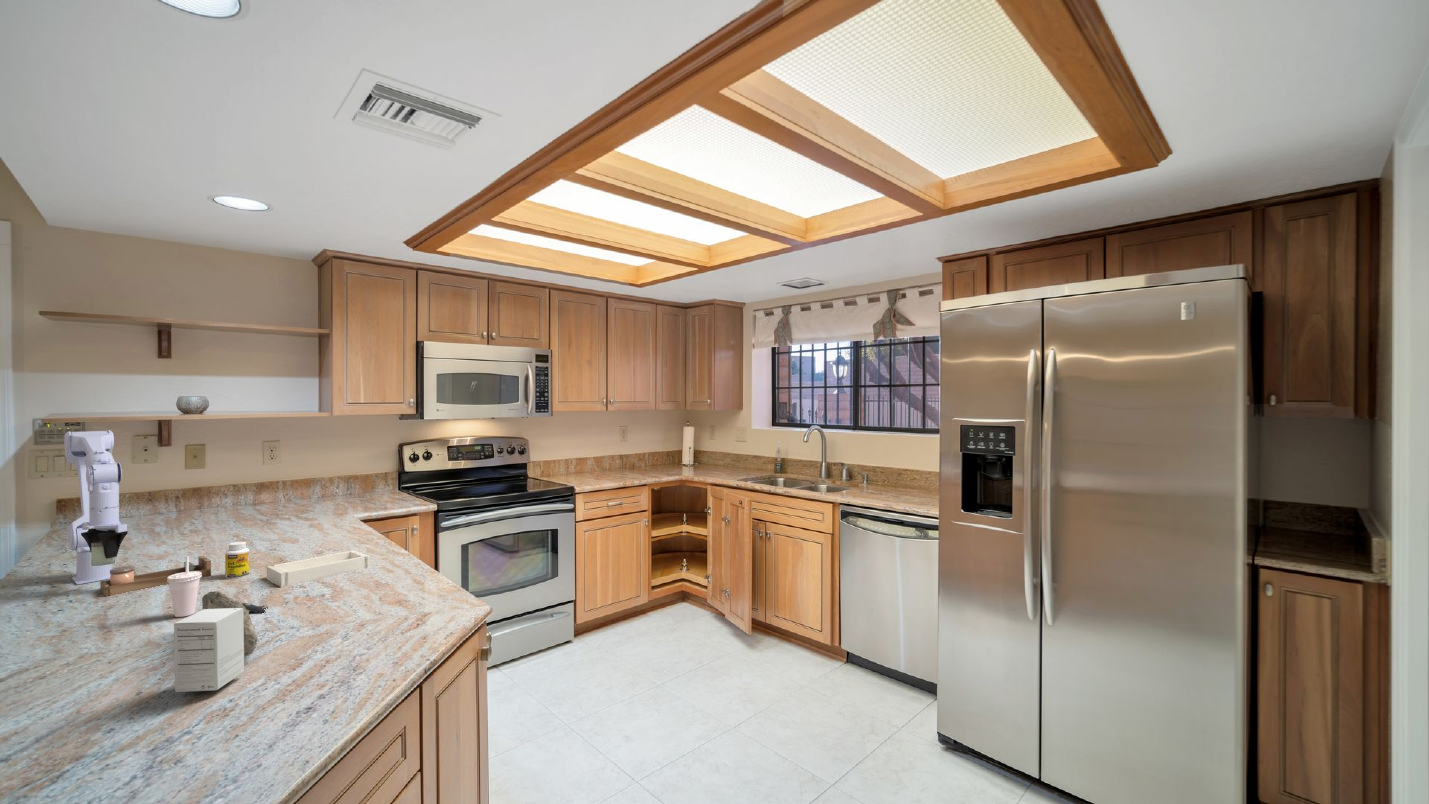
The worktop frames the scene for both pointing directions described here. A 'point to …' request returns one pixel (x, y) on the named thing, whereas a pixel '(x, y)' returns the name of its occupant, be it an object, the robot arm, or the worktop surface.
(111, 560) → the jar
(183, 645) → the supplement box
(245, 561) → the supplement bottle
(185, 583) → the smoothie
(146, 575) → the lane
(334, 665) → the worktop surface
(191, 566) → the pusher
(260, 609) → the dark grey elongated piece
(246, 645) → the elongated rock
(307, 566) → the utensil tray
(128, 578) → the jar stock
